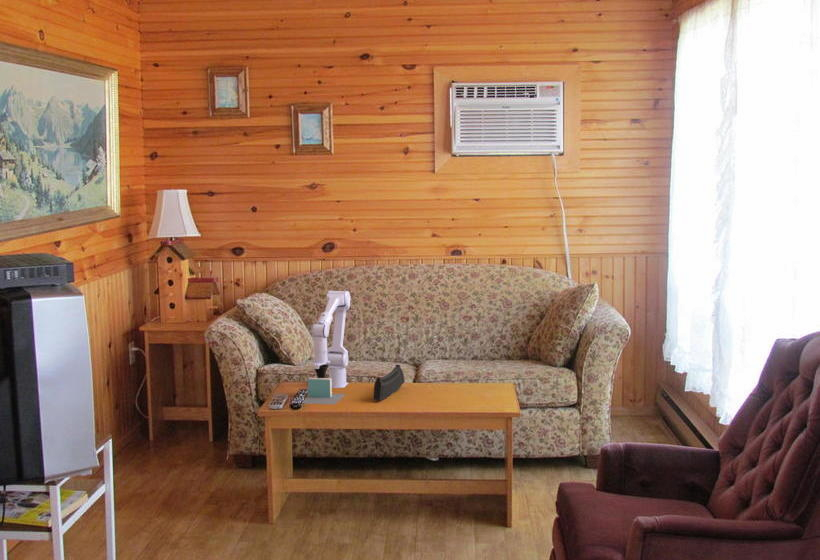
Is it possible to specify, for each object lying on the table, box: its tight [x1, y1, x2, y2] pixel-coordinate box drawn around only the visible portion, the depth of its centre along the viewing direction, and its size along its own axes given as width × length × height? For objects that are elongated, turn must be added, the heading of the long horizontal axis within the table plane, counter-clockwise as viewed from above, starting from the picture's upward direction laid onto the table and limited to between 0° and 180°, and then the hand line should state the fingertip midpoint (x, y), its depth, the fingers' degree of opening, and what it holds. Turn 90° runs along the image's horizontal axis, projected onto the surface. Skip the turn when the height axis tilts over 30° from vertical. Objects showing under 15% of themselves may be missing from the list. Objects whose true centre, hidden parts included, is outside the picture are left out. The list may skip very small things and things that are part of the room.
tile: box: [307, 377, 333, 398], centre depth 401 cm, size 2×10×8 cm, turn 79°
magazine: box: [372, 364, 405, 401], centre depth 404 cm, size 17×3×30 cm
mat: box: [289, 393, 346, 406], centre depth 399 cm, size 18×20×1 cm
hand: (321, 381), depth 404 cm, fingers closed
